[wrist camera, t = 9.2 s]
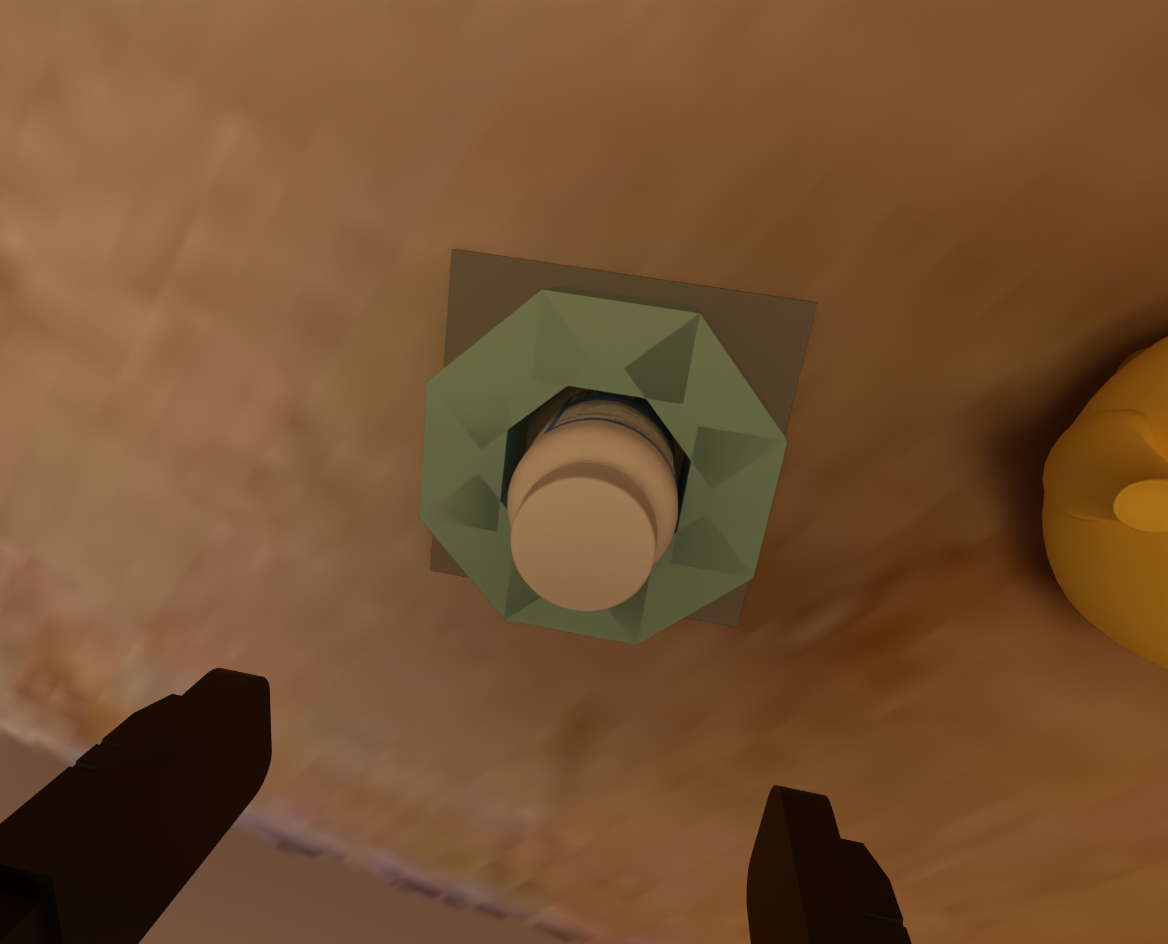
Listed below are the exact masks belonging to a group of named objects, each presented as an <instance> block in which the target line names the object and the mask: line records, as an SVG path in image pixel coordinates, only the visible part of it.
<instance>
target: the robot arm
mask: <svg viewBox="0 0 1168 944" xmlns="http://www.w3.org/2000/svg"><path fill="white" fill-rule="evenodd" d="M271 755H272V745H271V714H270V688H269V683H268V681H267V679H266V678H265V677H262V676H257V675H252V674H247V673H243V672H238V671H233V670H228V669H223V668H216V669H213V670H211V671H210V672H208V673H207V674H206V675H205V676H204V677H202V678H201V679H200V680H199V681H198V682H197V683H196V684H194V685H193V686H192V687H191V688H190V689H189V690H188V691H186V692H185V693H184V694H183V695H182V696H180V695H175V694H171V695H169V696H167V697H165V698H163V699H161V700H159V701H157V702H155V703H153V704H151V705H149V706H147V707H145V708H143V709H141V710H139V711H137V712H135V713H133V714H132V715H131V716H130V717H128V718H127V719H126V720H125V721H124V722H122V723H121V724H120V725H119V726H118V727H116V728H115V729H114V730H113V731H112V732H110V733H109V734H108V735H107V736H106V737H104V738H103V740H102V743H101V744H100V745H98V744H96V745H95V746H93V747H92V748H91V749H90V750H89V751H87V752H86V753H85V754H84V755H83V756H81V757H80V758H79V759H78V760H77V761H76V764H75V765H74V766H73V767H70V766H69V767H68V768H67V769H66V770H65V771H63V772H62V773H61V774H60V775H58V776H57V777H56V778H55V779H54V780H52V781H51V782H50V783H49V784H48V785H46V786H45V787H44V788H43V789H42V790H40V791H39V792H38V793H37V794H36V795H34V796H33V797H32V798H31V799H30V800H28V801H27V802H26V803H25V804H24V805H22V806H21V807H20V808H19V809H18V810H16V811H15V812H14V813H13V814H11V815H10V816H9V817H8V818H7V819H6V820H4V821H3V822H2V823H1V824H0V944H138V943H139V942H140V941H141V940H142V938H143V937H144V936H145V934H146V933H147V932H148V931H149V930H150V928H151V927H152V926H153V925H154V923H155V922H156V921H157V919H158V918H159V917H160V915H161V914H162V913H163V912H164V911H165V909H166V908H167V906H169V904H170V903H171V902H172V900H173V899H174V898H175V897H176V895H177V894H178V893H179V892H180V890H181V889H182V888H183V886H184V885H185V884H186V883H187V881H188V880H189V879H190V878H191V876H192V875H193V874H194V873H195V871H196V870H197V869H198V868H199V866H200V865H201V864H202V862H203V861H204V860H205V859H206V857H207V856H208V855H209V854H210V852H211V851H212V850H213V849H214V847H215V846H216V845H217V844H218V842H219V841H220V840H221V838H222V837H223V836H224V835H225V833H226V832H227V831H228V830H229V828H230V827H231V826H232V825H233V823H234V822H235V821H236V820H237V818H238V817H239V816H240V814H241V813H242V812H243V811H244V809H245V808H246V807H247V806H248V804H249V803H250V802H251V801H252V799H253V798H254V797H255V795H256V794H257V792H258V791H259V789H260V788H261V786H262V784H263V782H264V780H265V777H266V775H267V772H268V769H269V766H270V761H271ZM747 912H748V921H749V930H750V940H751V944H912V943H911V940H910V938H909V935H908V932H907V929H906V927H903V917H902V914H901V911H900V909H899V906H898V903H897V900H896V897H895V894H894V891H893V888H892V885H891V883H890V880H889V878H888V877H887V875H886V874H885V873H884V871H883V870H882V869H881V867H880V866H879V864H878V863H877V862H876V860H875V859H874V858H873V856H872V855H871V853H870V852H869V851H868V849H867V848H866V847H865V845H864V844H863V843H860V842H855V841H850V840H846V839H841V838H840V834H839V831H838V827H837V824H836V820H835V817H834V813H833V810H832V806H831V804H830V801H829V799H828V798H827V797H826V796H825V795H820V794H816V793H811V792H806V791H801V790H796V789H792V788H787V787H782V786H777V785H774V786H773V787H772V789H771V791H770V793H769V796H768V800H767V803H766V806H765V810H764V813H763V817H762V820H761V824H760V827H759V831H758V834H757V838H756V841H755V844H754V848H753V851H752V855H751V859H750V863H749V869H748V877H747Z"/></svg>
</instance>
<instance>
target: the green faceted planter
mask: <svg viewBox="0 0 1168 944" xmlns="http://www.w3.org/2000/svg"><path fill="white" fill-rule="evenodd" d="M566 386H573V387H579V388H585V389H591V390H597V391H604V392H610V393H616V394H622V395H628V396H634V397H641V398H646V399H647V401H648V402H649V403H650V405H651V406H652V408H653V409H654V410H655V412H656V413H657V414H658V416H659V417H660V419H661V420H662V421H663V423H664V424H665V425H666V427H667V428H668V430H669V431H670V432H671V434H672V435H673V437H674V438H675V439H676V441H677V442H678V443H679V445H680V446H681V448H682V449H683V450H684V455H683V460H682V465H681V470H680V475H679V480H678V485H677V492H678V518H677V524H676V528H675V531H674V534H673V537H672V540H671V542H670V544H669V546H668V548H667V549H666V551H665V552H664V554H663V555H662V557H661V558H660V559H659V560H658V561H657V562H656V563H655V564H654V565H653V567H652V570H651V572H650V574H649V576H648V578H647V579H646V581H645V582H644V584H643V585H642V586H641V587H640V589H639V590H638V591H637V592H636V593H635V594H634V595H632V596H631V597H630V598H628V599H627V600H625V601H624V602H622V603H620V604H618V605H615V606H613V607H610V608H607V609H603V610H597V611H578V610H571V609H567V608H563V607H560V606H558V605H555V604H553V603H551V602H549V601H547V600H545V599H544V598H542V597H541V596H540V595H538V594H537V593H536V592H535V591H534V590H532V589H531V587H529V585H528V584H527V583H526V582H525V581H524V579H523V578H522V576H521V575H520V573H519V571H518V569H517V567H516V565H515V562H514V559H513V555H512V551H511V530H512V529H511V526H510V522H509V518H508V510H507V499H508V490H509V486H510V482H511V479H512V476H513V474H514V471H515V469H516V467H517V466H518V464H519V462H520V461H521V459H522V458H523V456H524V455H525V450H526V442H527V433H528V424H529V415H530V413H531V412H533V411H534V410H535V409H537V408H538V407H539V406H541V405H542V404H543V403H545V402H546V401H547V400H549V399H550V398H551V397H553V396H554V395H556V394H557V393H558V392H560V391H561V390H562V389H564V388H565V387H566ZM786 445H787V439H786V438H785V436H784V435H783V433H782V432H781V430H780V429H779V427H778V426H777V424H776V423H775V421H774V420H773V418H772V417H771V415H770V414H769V413H768V411H767V410H766V408H765V407H764V405H763V404H762V403H761V401H760V400H759V398H758V397H757V395H756V394H755V392H754V391H753V389H752V388H751V387H750V385H749V384H748V382H747V381H746V379H745V378H744V376H743V375H742V373H741V372H740V371H739V369H738V368H737V366H736V365H735V363H734V362H733V360H732V359H731V357H730V356H729V355H728V353H727V352H726V350H725V349H724V347H723V346H722V344H721V343H720V341H719V340H718V339H717V337H716V336H715V334H714V333H713V331H712V330H711V328H710V327H709V325H708V324H707V323H706V321H705V320H704V318H703V317H702V315H701V314H700V312H699V311H698V309H697V308H696V306H693V305H686V304H680V303H673V302H667V301H660V300H653V299H647V298H640V297H633V296H627V295H620V294H613V293H607V292H600V291H593V290H587V289H580V288H573V287H567V286H556V287H551V288H547V289H542V290H541V291H540V292H538V293H537V294H536V295H535V296H533V297H532V298H531V299H530V300H528V301H527V302H526V303H525V304H523V305H522V306H521V307H520V308H518V309H517V310H516V311H515V312H513V313H512V314H511V315H510V316H508V317H507V318H506V319H505V320H504V321H502V322H501V323H500V324H499V325H497V326H496V327H495V328H494V329H492V330H491V331H490V332H489V333H487V334H486V335H485V336H484V337H482V338H481V339H480V340H479V341H477V342H476V343H475V344H474V345H472V346H471V347H470V348H469V349H468V350H466V351H465V352H464V353H463V354H461V355H460V356H459V357H458V358H456V359H455V360H454V361H453V362H451V363H450V364H449V365H448V366H446V367H445V368H444V369H443V370H441V371H440V372H439V373H438V374H436V375H435V376H434V377H433V378H432V379H430V380H429V381H428V382H427V395H426V412H425V429H424V446H423V462H422V479H421V496H420V513H419V518H420V519H421V520H422V521H423V523H424V524H425V525H426V526H427V527H428V529H429V530H430V531H431V532H432V533H433V535H434V536H435V537H436V538H437V539H438V541H439V542H440V543H441V544H442V545H443V547H444V548H445V549H446V550H447V551H448V553H449V554H450V555H451V556H452V557H453V559H454V560H455V561H456V562H457V563H458V564H459V566H460V567H461V568H462V569H463V570H464V572H465V573H466V574H467V575H468V576H469V578H470V579H471V580H472V581H473V582H474V584H475V585H476V586H477V587H478V588H479V590H480V591H481V592H482V593H483V594H484V596H485V597H486V598H487V599H488V600H489V602H490V603H491V604H492V605H493V606H494V608H495V609H496V610H497V611H498V612H499V614H500V615H501V616H502V617H503V618H504V620H508V621H513V622H518V623H524V624H529V625H534V626H539V627H545V628H550V629H555V630H560V631H566V632H571V633H576V634H581V635H587V636H592V637H597V638H602V639H607V640H613V641H618V642H623V643H628V644H634V645H637V644H639V643H641V642H643V641H644V640H646V639H648V638H650V637H651V636H653V635H655V634H656V633H658V632H660V631H662V630H663V629H665V628H667V627H669V626H670V625H672V624H674V623H676V622H677V621H679V620H681V619H683V618H684V617H686V616H688V615H690V614H691V613H693V612H695V611H696V610H698V609H700V608H702V607H703V606H705V605H707V604H709V603H710V602H712V601H714V600H716V599H717V598H719V597H721V596H723V595H724V594H726V593H728V592H730V591H731V590H733V589H735V588H737V587H738V586H740V585H742V584H743V583H745V582H747V581H749V580H750V579H752V578H754V573H755V569H756V565H757V561H758V557H759V553H760V549H761V545H762V541H763V537H764V533H765V529H766V525H767V521H768V517H769V513H770V509H771V505H772V501H773V497H774V493H775V489H776V485H777V481H778V477H779V473H780V469H781V465H782V461H783V457H784V453H785V449H786Z"/></svg>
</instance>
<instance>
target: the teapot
mask: <svg viewBox="0 0 1168 944" xmlns="http://www.w3.org/2000/svg"><path fill="white" fill-rule="evenodd" d="M1042 478H1043V488H1044V491H1045V492H1044V500H1043V509H1042V526H1043V538H1044V543H1045V547H1046V552H1047V556H1048V559H1049V562H1050V565H1051V567H1052V570H1053V572H1054V575H1055V577H1056V580H1057V582H1058V584H1059V585H1060V587H1061V589H1062V590H1063V592H1064V594H1065V595H1066V597H1067V599H1068V600H1069V601H1070V602H1071V603H1072V604H1073V606H1074V607H1075V608H1076V609H1077V610H1078V612H1079V613H1080V614H1081V615H1082V616H1083V617H1085V618H1086V619H1087V620H1088V621H1089V622H1090V623H1091V624H1093V625H1094V626H1095V627H1096V628H1097V629H1099V630H1100V631H1101V632H1103V633H1104V634H1105V635H1106V636H1108V637H1109V638H1110V639H1112V640H1113V641H1115V642H1116V643H1118V644H1120V645H1121V646H1123V647H1124V648H1126V649H1127V650H1129V651H1130V652H1132V653H1134V654H1136V655H1138V656H1140V657H1141V658H1143V659H1145V660H1147V661H1149V662H1151V663H1153V664H1155V665H1157V666H1159V667H1162V668H1164V669H1166V670H1168V336H1167V337H1165V338H1163V339H1162V340H1160V341H1158V342H1156V343H1155V344H1153V345H1152V346H1150V347H1146V348H1142V349H1140V350H1137V351H1135V352H1134V353H1132V354H1130V355H1129V356H1128V357H1127V358H1126V359H1124V361H1123V362H1122V363H1121V364H1120V365H1119V367H1118V369H1117V370H1116V373H1115V375H1113V376H1112V377H1111V378H1110V379H1109V380H1108V381H1107V382H1106V383H1105V384H1104V385H1103V386H1102V387H1101V389H1100V390H1099V391H1098V392H1097V393H1096V394H1095V395H1094V396H1093V397H1092V398H1091V399H1090V400H1089V402H1088V403H1087V405H1086V406H1085V407H1084V409H1083V410H1082V411H1081V413H1080V414H1079V415H1078V417H1077V418H1076V419H1075V421H1074V422H1073V424H1072V425H1071V426H1070V427H1069V428H1068V429H1067V430H1066V431H1065V432H1064V433H1063V434H1062V435H1061V436H1060V437H1059V439H1058V440H1057V442H1056V443H1055V445H1054V446H1053V447H1052V449H1051V451H1050V453H1049V456H1048V458H1047V460H1046V462H1045V466H1044V471H1043V477H1042Z"/></svg>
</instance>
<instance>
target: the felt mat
mask: <svg viewBox="0 0 1168 944" xmlns="http://www.w3.org/2000/svg"><path fill="white" fill-rule="evenodd" d="M556 286H567V287H573V288H580V289H587V290H593V291H600V292H607V293H613V294H620V295H627V296H633V297H640V298H647V299H653V300H660V301H667V302H673V303H680V304H686V305H693V306H696V308H697V309H698V311H699V312H700V314H701V315H702V317H703V318H704V320H705V321H706V323H707V324H708V325H709V327H710V328H711V330H712V331H713V333H714V334H715V336H716V337H717V339H718V340H719V341H720V343H721V344H722V346H723V347H724V349H725V350H726V352H727V353H728V355H729V356H730V357H731V359H732V360H733V362H734V363H735V365H736V366H737V368H738V369H739V371H740V372H741V373H742V375H743V376H744V378H745V379H746V381H747V382H748V384H749V385H750V387H751V388H752V389H753V391H754V392H755V394H756V395H757V397H758V398H759V400H760V401H761V403H762V404H763V405H764V407H765V408H766V410H767V411H768V413H769V414H770V415H771V417H772V418H773V420H774V421H775V423H776V424H777V426H778V427H779V429H780V430H781V432H782V433H783V435H784V436H785V432H786V428H787V424H788V420H789V415H790V411H791V407H792V403H793V399H794V395H795V391H796V387H797V383H798V379H799V375H800V371H801V367H802V363H803V359H804V355H805V351H806V347H807V343H808V339H809V335H810V331H811V327H812V323H813V319H814V315H815V311H816V307H817V303H816V302H810V301H803V300H796V299H789V298H782V297H776V296H769V295H762V294H755V293H749V292H742V291H735V290H728V289H722V288H715V287H708V286H701V285H694V284H688V283H681V282H674V281H667V280H661V279H654V278H647V277H640V276H634V275H627V274H620V273H613V272H606V271H600V270H593V269H586V268H579V267H573V266H566V265H559V264H552V263H545V262H539V261H532V260H525V259H518V258H512V257H505V256H498V255H491V254H485V253H478V252H471V251H464V250H457V249H452V254H451V269H450V284H449V299H448V314H447V328H446V343H445V358H444V368H445V367H446V366H448V365H449V364H450V363H451V362H453V361H454V360H455V359H456V358H458V357H459V356H460V355H461V354H463V353H464V352H465V351H466V350H468V349H469V348H470V347H471V346H472V345H474V344H475V343H476V342H477V341H479V340H480V339H481V338H482V337H484V336H485V335H486V334H487V333H489V332H490V331H491V330H492V329H494V328H495V327H496V326H497V325H499V324H500V323H501V322H502V321H504V320H505V319H506V318H507V317H508V316H510V315H511V314H512V313H513V312H515V311H516V310H517V309H518V308H520V307H521V306H522V305H523V304H525V303H526V302H527V301H528V300H530V299H531V298H532V297H533V296H535V295H536V294H537V293H538V292H540V291H541V290H542V289H547V288H551V287H556ZM586 390H589V389H585V388H579V387H573V386H566V387H565V388H564V389H562V390H561V391H560V392H558V393H557V394H556V395H554V396H553V397H551V398H550V399H549V400H547V401H546V402H545V403H543V404H542V405H541V406H539V407H538V408H537V409H535V410H534V411H533V412H531V413H530V415H529V424H528V433H527V442H526V450H525V453H526V452H527V451H528V449H529V448H530V447H531V445H532V444H533V442H534V441H535V439H536V438H537V436H538V435H539V433H540V432H541V431H542V429H543V428H544V426H545V425H546V423H547V422H548V420H549V419H550V417H551V416H552V415H553V414H554V412H555V411H556V410H557V409H558V408H559V407H560V406H561V405H562V404H563V403H564V402H565V401H566V400H568V399H569V398H571V397H572V396H574V395H576V394H578V393H580V392H583V391H586ZM644 399H646V398H644ZM646 400H647V399H646ZM670 433H671V432H670ZM671 436H672V440H673V446H674V458H675V471H676V482H677V485H678V480H679V475H680V470H681V465H682V460H683V455H684V450H683V449H682V448H681V446H680V445H679V443H678V442H677V441H676V439H675V438H674V437H673V435H672V434H671ZM430 570H431V571H436V572H442V573H447V574H453V575H458V576H463V577H469V576H468V575H467V574H466V573H465V572H464V570H463V569H462V568H461V567H460V566H459V564H458V563H457V562H456V561H455V560H454V559H453V557H452V556H451V555H450V554H449V553H448V551H447V550H446V549H445V548H444V547H443V545H442V544H441V543H440V542H439V541H438V539H437V538H436V537H435V536H434V535H433V537H432V551H431V566H430ZM747 585H748V581H747V582H745V583H743V584H742V585H740V586H738V587H737V588H735V589H733V590H731V591H730V592H728V593H726V594H724V595H723V596H721V597H719V598H717V599H716V600H714V601H712V602H710V603H709V604H707V605H705V606H703V607H702V608H700V609H698V610H696V611H695V612H693V613H691V614H690V615H688V616H686V617H684V618H688V619H694V620H699V621H704V622H710V623H715V624H720V625H726V626H731V627H736V628H737V625H738V621H739V617H740V613H741V609H742V605H743V601H744V597H745V593H746V589H747Z"/></svg>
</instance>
